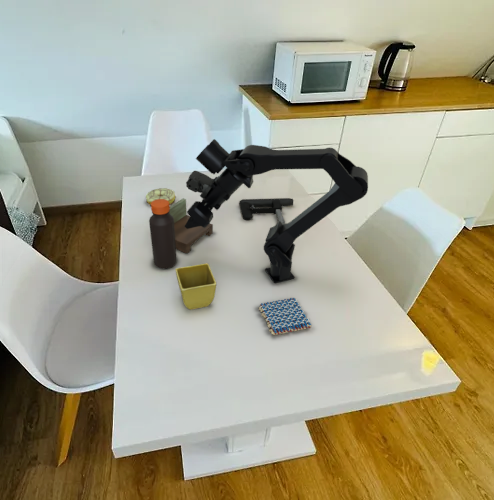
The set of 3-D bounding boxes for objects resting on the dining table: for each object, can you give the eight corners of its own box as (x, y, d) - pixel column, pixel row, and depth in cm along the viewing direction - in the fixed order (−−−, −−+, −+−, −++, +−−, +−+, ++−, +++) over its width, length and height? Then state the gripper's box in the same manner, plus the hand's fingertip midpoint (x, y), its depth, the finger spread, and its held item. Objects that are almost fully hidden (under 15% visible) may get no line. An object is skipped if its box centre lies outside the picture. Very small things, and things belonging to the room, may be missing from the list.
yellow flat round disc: (148, 195, 150) (147, 186, 148) (176, 195, 151) (175, 186, 148) (144, 208, 142) (143, 199, 140) (174, 208, 142) (173, 199, 140)
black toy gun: (302, 219, 132) (291, 194, 145) (243, 221, 131) (238, 196, 143) (300, 227, 135) (290, 202, 147) (243, 229, 133) (238, 204, 146)
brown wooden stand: (212, 233, 129) (212, 208, 123) (187, 253, 119) (185, 227, 114) (184, 222, 134) (183, 198, 129) (157, 241, 125) (154, 215, 119)
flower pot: (182, 316, 97) (181, 289, 92) (176, 294, 104) (174, 267, 99) (216, 310, 99) (217, 283, 94) (208, 288, 106) (208, 262, 101)
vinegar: (149, 262, 115) (142, 202, 104) (167, 253, 119) (162, 194, 108) (163, 272, 112) (157, 212, 100) (181, 262, 115) (177, 203, 104)
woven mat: (294, 300, 103) (295, 295, 102) (312, 329, 94) (313, 324, 93) (257, 307, 100) (257, 301, 99) (272, 338, 92) (273, 332, 91)
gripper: (213, 150, 106) (182, 185, 116) (189, 178, 92) (156, 216, 101) (243, 178, 108) (210, 210, 118) (224, 209, 94) (188, 244, 103)
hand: (191, 219), depth 110 cm, fingers open, 9 cm apart
